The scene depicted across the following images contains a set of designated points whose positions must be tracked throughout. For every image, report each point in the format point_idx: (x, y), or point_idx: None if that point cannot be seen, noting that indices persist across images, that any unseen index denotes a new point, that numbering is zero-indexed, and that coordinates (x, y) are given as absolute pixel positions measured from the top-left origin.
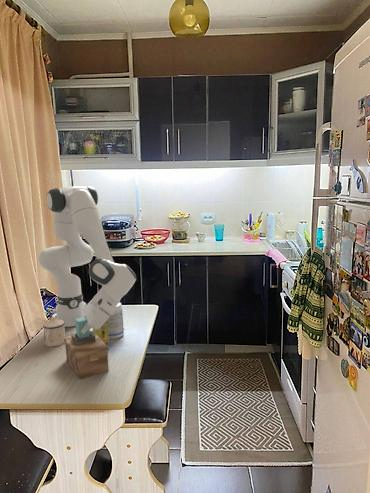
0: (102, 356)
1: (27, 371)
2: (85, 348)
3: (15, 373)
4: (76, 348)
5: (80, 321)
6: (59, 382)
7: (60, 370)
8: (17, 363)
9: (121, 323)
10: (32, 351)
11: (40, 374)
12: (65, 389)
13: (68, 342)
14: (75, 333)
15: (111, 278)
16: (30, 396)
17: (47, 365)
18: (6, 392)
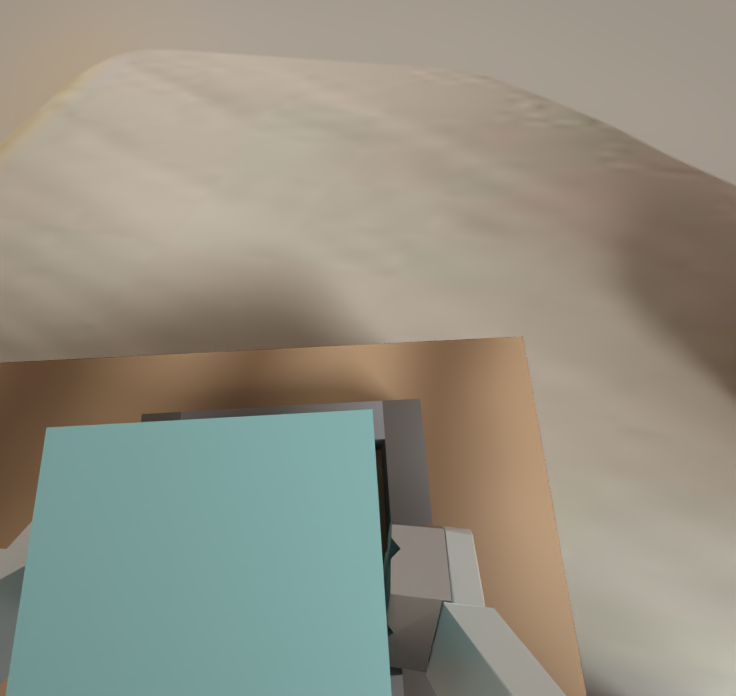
0: None
1: (406, 166)
2: (4, 504)
3: (415, 111)
4: (89, 402)
5: (36, 503)
6: (135, 302)
7: (305, 339)
8: (551, 132)
9: None
10: (711, 226)
11: (321, 222)
12: (16, 317)
13: (328, 357)
14: (424, 460)
15: None
16: (84, 144)
17: (431, 277)
18: (212, 59)
